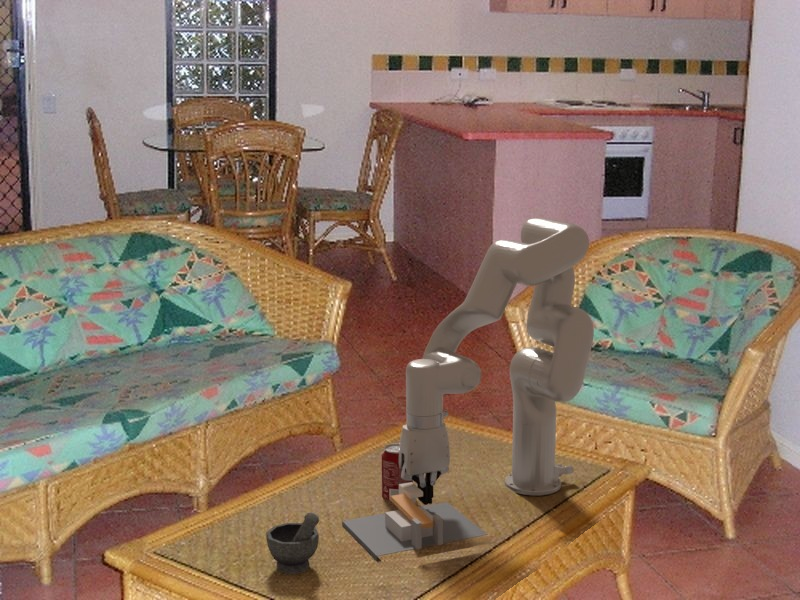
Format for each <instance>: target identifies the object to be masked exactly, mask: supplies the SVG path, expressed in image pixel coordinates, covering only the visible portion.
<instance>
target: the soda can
mask: <svg viewBox="0 0 800 600" xmlns="http://www.w3.org/2000/svg"><path fill="white" fill-rule="evenodd" d="M399 446H400V442H399V443H398V442H397V443H389V444H387V445H385V446H384V451H383V452H382V454H381V497H382V498H383V499H385V500H387V501H390V502H392V501H391V496H393V495H398V494H399V484H404V483H410V482H412V483H414V481H408V480H403V479H402V478H401V473H402V469H401V468H400V467H399Z"/></svg>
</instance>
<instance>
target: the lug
mask: <svg viewBox="0 0 800 600" xmlns="http://www.w3.org/2000/svg"><path fill="white" fill-rule="evenodd" d="M399 494H405V495H406V496H407V497H408V498H409V499H410V500H411V501H412V502H413V503H414V504H415V505H416V506H417V499H418V497H423V491H422V490H420V489H419V488H418V487H417V485H416V483H415V482H413V483H412V482H410V483H404V484H399ZM398 510H400V509H399V508H398Z"/></svg>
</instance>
